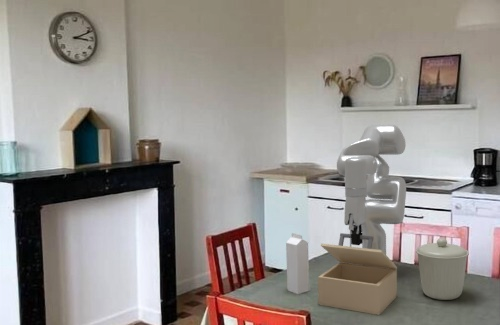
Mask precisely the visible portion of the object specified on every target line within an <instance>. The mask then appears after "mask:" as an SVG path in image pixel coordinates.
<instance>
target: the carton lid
mask: <svg viewBox="0 0 500 325" xmlns="http://www.w3.org/2000/svg"><path fill="white" fill-rule="evenodd" d="M345 239H351V233H341V232H340V234H339V239H338V240H339V241H338V244H329V243H320V247H322V249H324V250H325V251H326V252H328V254H330V255H331V256H332V257H334V258H335V260H337V261H338V263H340V262H341V263H349V264H357V265H367V266H375V267H383V268H388V269H396V270H398V266H397V265H396V264H395V263H394V262H393V261H392V259H390V258H389V257H388V255H387V253H386V254H385V253H384V252H383V251H382V250H376V249H372V244H373V240H374V237H373V236H365V235H360V239H364V240H368V246H367V248H362V247H356V246H346V245H344V241H345Z"/></svg>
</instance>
